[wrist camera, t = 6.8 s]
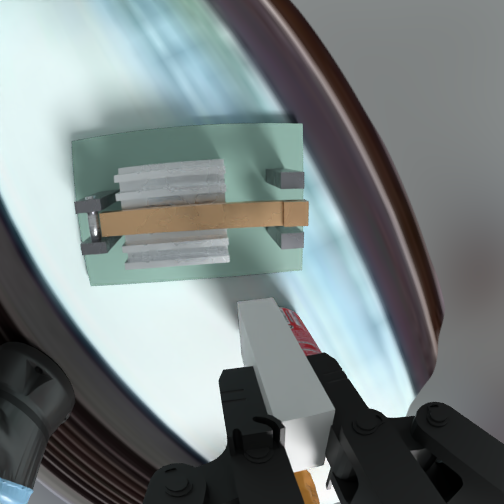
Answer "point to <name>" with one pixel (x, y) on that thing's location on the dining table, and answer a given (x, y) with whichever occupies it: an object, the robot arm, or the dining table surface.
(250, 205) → the strap
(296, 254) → the board
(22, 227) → the dining table surface
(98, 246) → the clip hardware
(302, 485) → the coffee package
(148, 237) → the heat sink
